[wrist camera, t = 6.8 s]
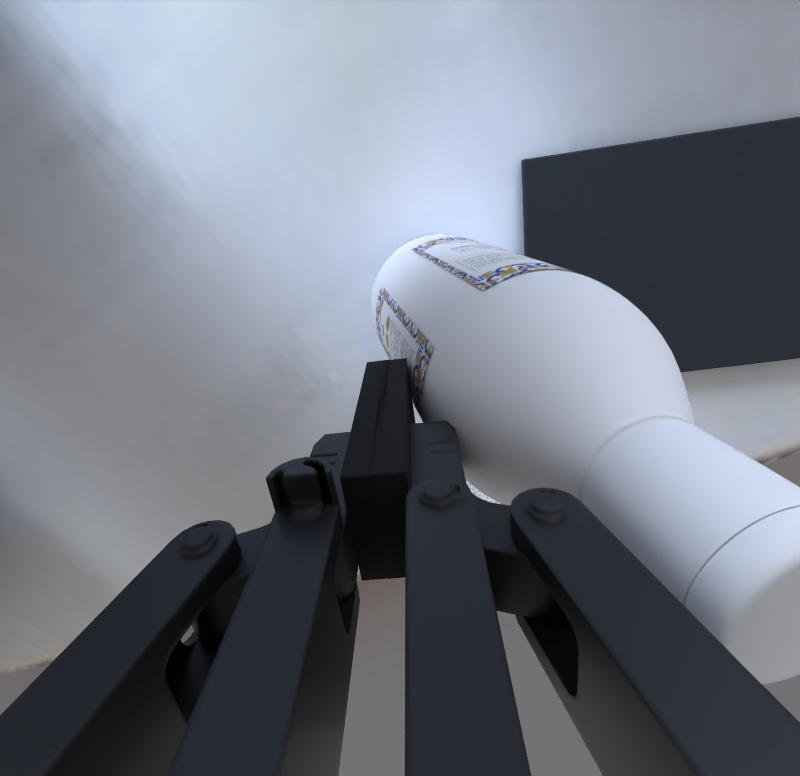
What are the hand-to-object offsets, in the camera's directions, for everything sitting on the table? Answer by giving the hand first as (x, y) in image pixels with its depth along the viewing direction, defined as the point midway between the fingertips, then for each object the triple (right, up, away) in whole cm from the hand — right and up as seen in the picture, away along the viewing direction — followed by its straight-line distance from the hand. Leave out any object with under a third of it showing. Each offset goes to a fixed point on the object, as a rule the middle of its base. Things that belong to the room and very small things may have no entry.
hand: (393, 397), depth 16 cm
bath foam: (+2, +5, +9) cm, 11 cm away
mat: (+19, +7, +8) cm, 22 cm away
